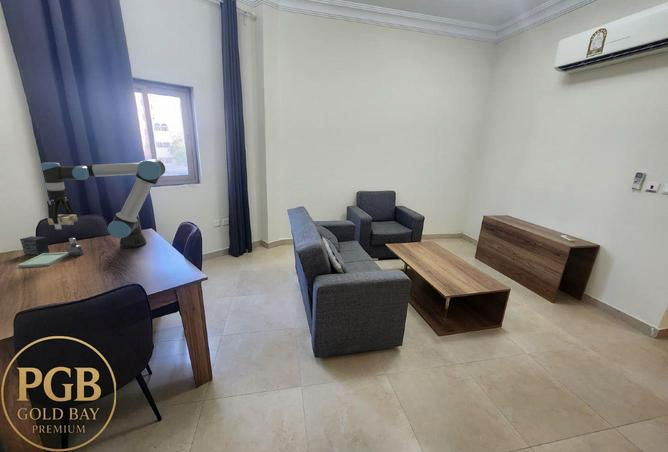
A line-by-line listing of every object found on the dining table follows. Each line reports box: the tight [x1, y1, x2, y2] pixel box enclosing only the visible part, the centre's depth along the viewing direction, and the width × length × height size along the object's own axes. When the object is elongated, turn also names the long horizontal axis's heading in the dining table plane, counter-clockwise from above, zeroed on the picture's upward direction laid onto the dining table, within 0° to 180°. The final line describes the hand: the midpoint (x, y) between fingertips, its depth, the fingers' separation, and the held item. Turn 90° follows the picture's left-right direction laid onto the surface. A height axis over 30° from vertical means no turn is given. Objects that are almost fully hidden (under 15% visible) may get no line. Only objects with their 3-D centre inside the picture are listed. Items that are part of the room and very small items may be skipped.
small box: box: [19, 235, 50, 256], centre depth 167 cm, size 11×6×10 cm, turn 84°
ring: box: [47, 214, 79, 226], centre depth 161 cm, size 9×9×4 cm
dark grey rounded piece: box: [65, 237, 85, 258], centre depth 167 cm, size 7×7×11 cm
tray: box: [17, 251, 69, 268], centre depth 159 cm, size 14×18×2 cm
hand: (64, 226), depth 162 cm, fingers closed on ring, 9 cm apart
